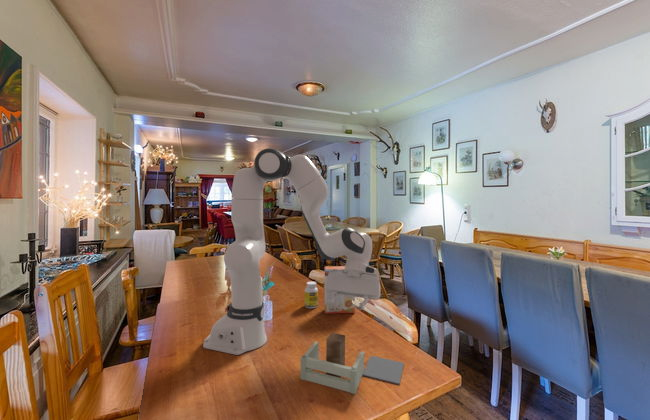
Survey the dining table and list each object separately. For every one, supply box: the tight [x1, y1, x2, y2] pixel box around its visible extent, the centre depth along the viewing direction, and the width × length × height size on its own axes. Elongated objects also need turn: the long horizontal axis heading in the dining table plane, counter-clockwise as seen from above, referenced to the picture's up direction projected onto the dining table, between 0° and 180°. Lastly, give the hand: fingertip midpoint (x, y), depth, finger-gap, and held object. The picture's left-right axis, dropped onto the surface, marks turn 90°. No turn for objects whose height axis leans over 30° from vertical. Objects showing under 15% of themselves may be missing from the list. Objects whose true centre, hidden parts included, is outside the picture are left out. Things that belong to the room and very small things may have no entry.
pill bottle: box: [304, 280, 319, 309], centre depth 140 cm, size 6×6×12 cm
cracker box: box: [324, 265, 356, 314], centre depth 134 cm, size 14×6×21 cm, turn 92°
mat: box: [362, 355, 405, 386], centre depth 90 cm, size 11×11×1 cm
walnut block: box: [325, 332, 346, 378], centre depth 89 cm, size 4×4×11 cm
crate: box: [300, 341, 365, 395], centre depth 87 cm, size 17×10×6 cm, turn 68°
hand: (347, 306), depth 99 cm, fingers open, 8 cm apart
